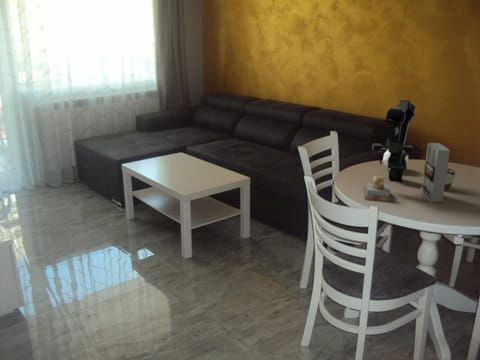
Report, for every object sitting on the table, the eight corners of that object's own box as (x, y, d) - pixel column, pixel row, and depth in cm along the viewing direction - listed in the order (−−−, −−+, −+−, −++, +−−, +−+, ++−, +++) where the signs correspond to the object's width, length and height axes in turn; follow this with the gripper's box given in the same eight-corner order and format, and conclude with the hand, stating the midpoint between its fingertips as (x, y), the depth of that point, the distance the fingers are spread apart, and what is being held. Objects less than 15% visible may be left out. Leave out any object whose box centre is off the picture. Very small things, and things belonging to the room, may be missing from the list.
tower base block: (388, 193, 234) (389, 189, 233) (391, 202, 222) (391, 197, 222) (363, 192, 236) (364, 187, 235) (364, 200, 225) (365, 195, 224)
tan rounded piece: (382, 185, 229) (383, 176, 227) (384, 189, 225) (385, 179, 223) (372, 185, 230) (373, 175, 228) (373, 189, 225) (374, 179, 224)
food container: (453, 187, 241) (456, 168, 238) (453, 190, 236) (456, 171, 233) (427, 183, 246) (430, 165, 243) (426, 187, 241) (429, 168, 238)
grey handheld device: (419, 192, 234) (426, 142, 226) (432, 192, 234) (439, 142, 226) (429, 202, 221) (436, 150, 213) (442, 202, 221) (450, 150, 213)
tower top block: (387, 189, 232) (388, 184, 231) (389, 196, 223) (389, 191, 222) (366, 187, 234) (367, 183, 233) (366, 194, 225) (367, 190, 224)
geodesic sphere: (413, 157, 272) (400, 138, 270) (416, 164, 259) (402, 144, 257) (391, 171, 277) (378, 151, 275) (392, 178, 264) (379, 158, 262)
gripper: (374, 137, 225) (371, 168, 230) (416, 139, 222) (412, 171, 227) (373, 131, 236) (370, 162, 241) (413, 133, 232) (409, 164, 237)
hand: (390, 165), depth 236 cm, fingers open, 9 cm apart
